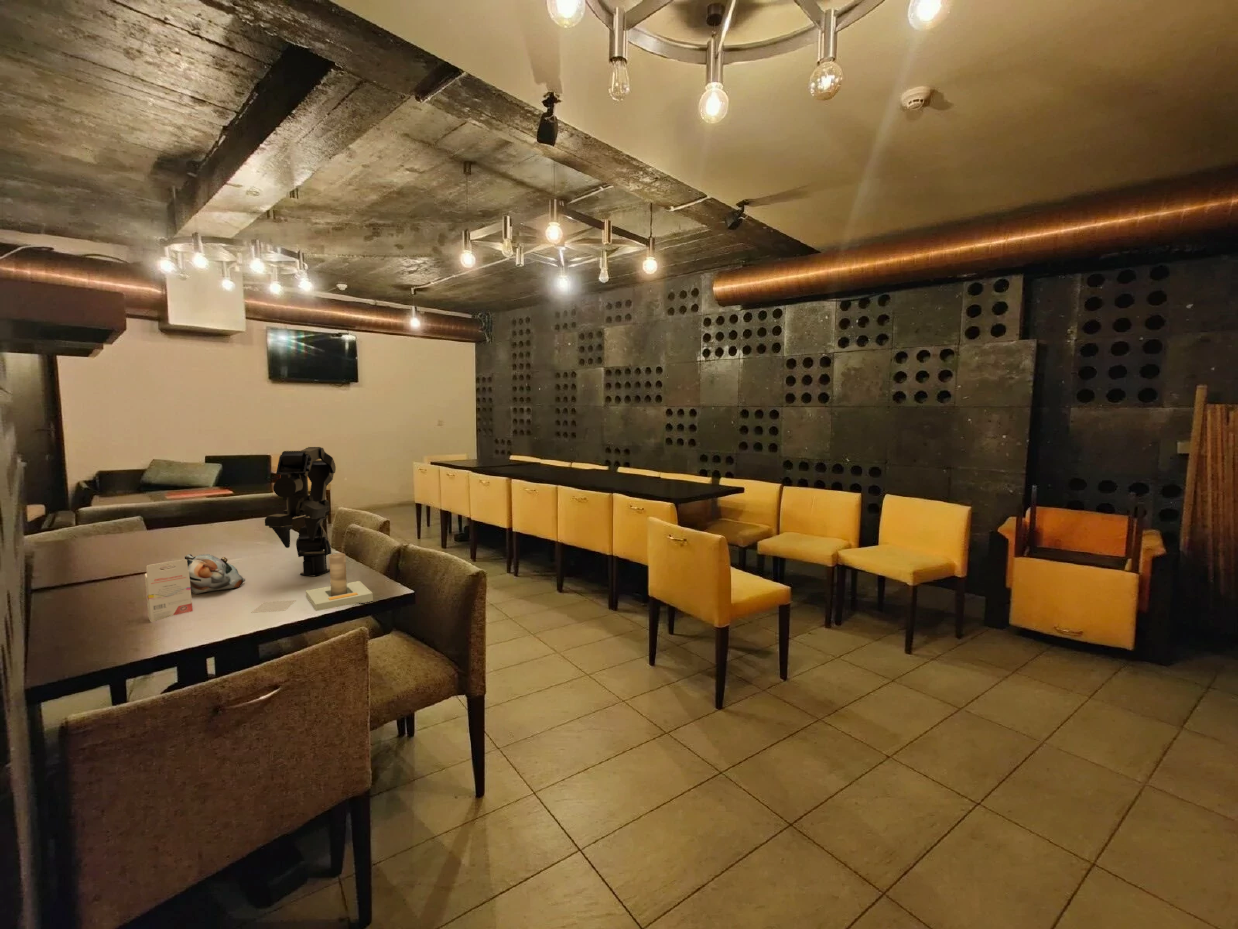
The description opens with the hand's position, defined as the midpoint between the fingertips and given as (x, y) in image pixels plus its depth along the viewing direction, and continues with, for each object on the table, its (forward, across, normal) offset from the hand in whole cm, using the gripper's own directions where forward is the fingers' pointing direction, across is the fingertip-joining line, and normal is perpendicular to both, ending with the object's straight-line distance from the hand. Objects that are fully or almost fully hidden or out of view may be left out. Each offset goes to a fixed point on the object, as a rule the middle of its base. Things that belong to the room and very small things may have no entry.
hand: (300, 544), depth 161 cm
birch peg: (+13, -8, -20) cm, 25 cm away
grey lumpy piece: (+13, -9, +22) cm, 27 cm away
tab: (+13, -18, -8) cm, 23 cm away
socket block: (+13, -8, -20) cm, 25 cm away
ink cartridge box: (+13, -28, +14) cm, 34 cm away
